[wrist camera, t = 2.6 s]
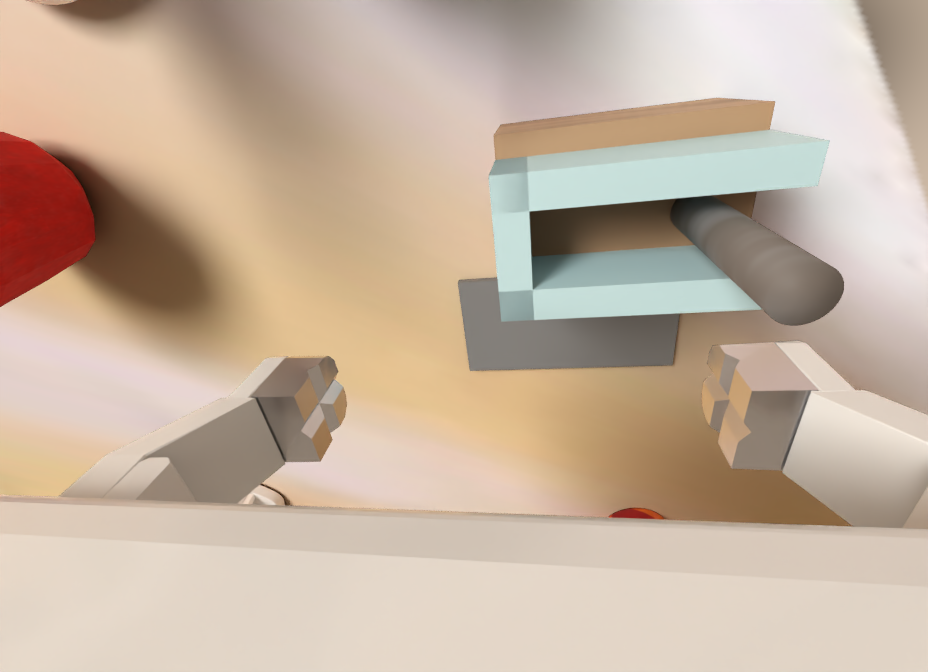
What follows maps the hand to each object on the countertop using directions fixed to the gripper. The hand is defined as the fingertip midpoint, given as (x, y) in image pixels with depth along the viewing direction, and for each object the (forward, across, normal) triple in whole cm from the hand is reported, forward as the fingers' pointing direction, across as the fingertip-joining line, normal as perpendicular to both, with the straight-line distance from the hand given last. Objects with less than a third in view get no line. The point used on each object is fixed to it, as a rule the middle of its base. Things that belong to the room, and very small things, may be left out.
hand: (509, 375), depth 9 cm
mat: (+18, +2, -9) cm, 21 cm away
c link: (+13, +4, 0) cm, 13 cm away
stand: (+19, +4, 0) cm, 19 cm away
